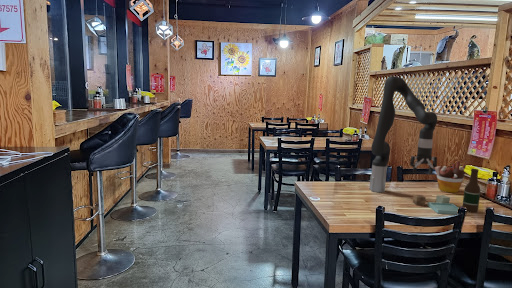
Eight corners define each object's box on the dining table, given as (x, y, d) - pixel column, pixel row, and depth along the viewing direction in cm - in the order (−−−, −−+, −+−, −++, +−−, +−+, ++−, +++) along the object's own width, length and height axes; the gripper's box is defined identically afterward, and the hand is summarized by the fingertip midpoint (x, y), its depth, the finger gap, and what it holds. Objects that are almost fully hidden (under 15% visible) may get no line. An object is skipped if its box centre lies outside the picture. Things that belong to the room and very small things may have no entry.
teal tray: (437, 213, 190) (438, 210, 189) (427, 205, 203) (427, 202, 203) (464, 214, 189) (464, 211, 188) (451, 206, 202) (452, 203, 202)
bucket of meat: (452, 195, 225) (456, 165, 222) (428, 189, 239) (431, 161, 236) (469, 192, 235) (472, 163, 232) (445, 186, 249) (448, 158, 246)
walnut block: (416, 205, 203) (416, 197, 203) (412, 202, 208) (413, 194, 208) (424, 205, 203) (425, 197, 202) (421, 203, 208) (422, 195, 207)
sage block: (441, 206, 203) (442, 197, 202) (435, 203, 208) (436, 195, 207) (449, 205, 204) (450, 197, 204) (442, 203, 209) (443, 195, 208)
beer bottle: (471, 213, 191) (477, 171, 188) (458, 209, 198) (463, 168, 195) (481, 212, 194) (486, 170, 191) (467, 207, 201) (472, 167, 198)
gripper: (415, 147, 198) (412, 174, 200) (440, 147, 197) (437, 175, 199) (410, 145, 205) (407, 172, 207) (434, 146, 204) (432, 172, 207)
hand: (422, 173), depth 203 cm, fingers open, 8 cm apart
